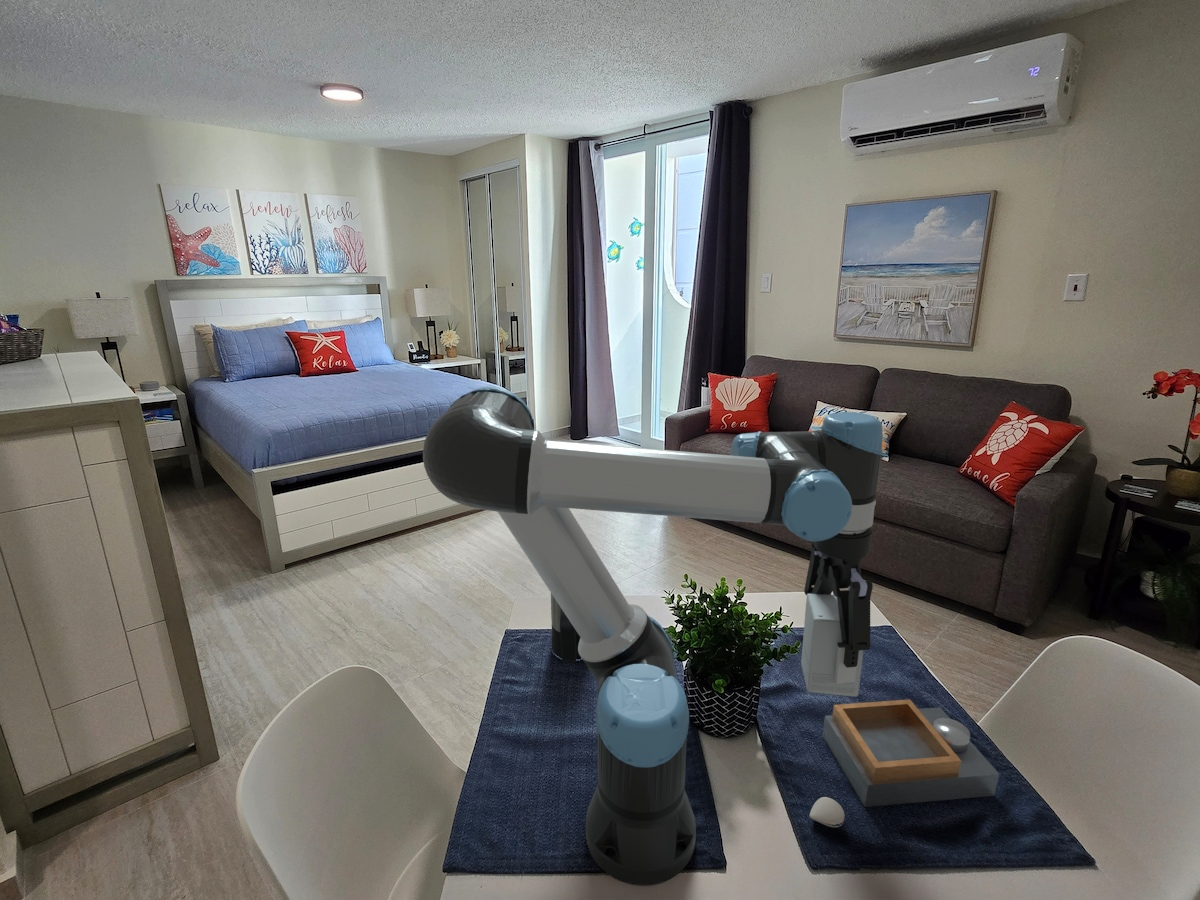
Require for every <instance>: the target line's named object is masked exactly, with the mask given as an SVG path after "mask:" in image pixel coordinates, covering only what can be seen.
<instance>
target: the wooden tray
mask: <svg viewBox="0 0 1200 900" xmlns="http://www.w3.org/2000/svg"><path fill="white" fill-rule="evenodd" d="M823 720H824V721H823V728H822V735H821V736H822V737H823V739H824V740H825V742H826V743H827V746H828V747H829V749H830V751H831V752H832V755H833V756H834V758H835V759H836V761H837V763H838V765H839V766H840V768H841V770H842V772H843V774H844V775H845V776H846V778H847V779H848V781H849V783H850V784H851V786H852V788H853V790H854V791H855V793H856V795H857V797H858V798H859V800H860V801H861V803H862V805H863V807H864V808H869V807H882V806H890V805H892V806H893V805H901V804H902V805H903V804H904V805H905V804H913V803H914V804H916V803H924V802H925V803H926V802H936V801H937V802H938V801H948V800H949V801H950V800H959V799H972V798H981V797H982V798H983V797H993V796H995V795H996V791H997V786H998V783H999V778H1000V773H999V772H998V770H996V768H995V767H994V766H993V765H992V764H991V763H990V761H988V759H987V758H986V757H985V756H984V755H983V754H982V753H981V751H979V749H978V748H977V747H976V746H975V744H974V743H972V741H971V740H970V739H971V732H970V730H969V729H968V727H966V726H965V725H964V724H963V723H962V722H961V721H960V722H959V721H958V720H955V719H952V718H951V717H949V715H948V714H947V713H946V712H945V711H944V710H943V709H942V707H939V706H938V707H926V708H925V707H924V708H918V707H917V706H916V704H915V703H914V702H913V701H912V700H911V699H909V698H908V699H898V700H897V699H896V700H885V701H884V700H882V701H870V702H856V703H855V702H854V703H841V704H833V708H832V715H829V714H828V715H824V719H823Z"/></svg>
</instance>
